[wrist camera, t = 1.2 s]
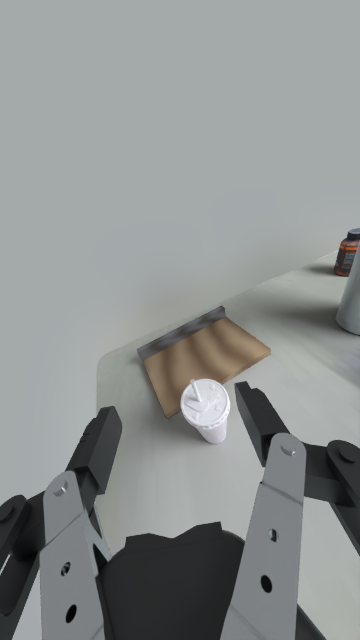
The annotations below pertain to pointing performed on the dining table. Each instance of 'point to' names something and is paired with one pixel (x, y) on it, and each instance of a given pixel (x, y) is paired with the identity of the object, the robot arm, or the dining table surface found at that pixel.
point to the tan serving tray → (199, 356)
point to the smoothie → (206, 408)
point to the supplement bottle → (347, 253)
